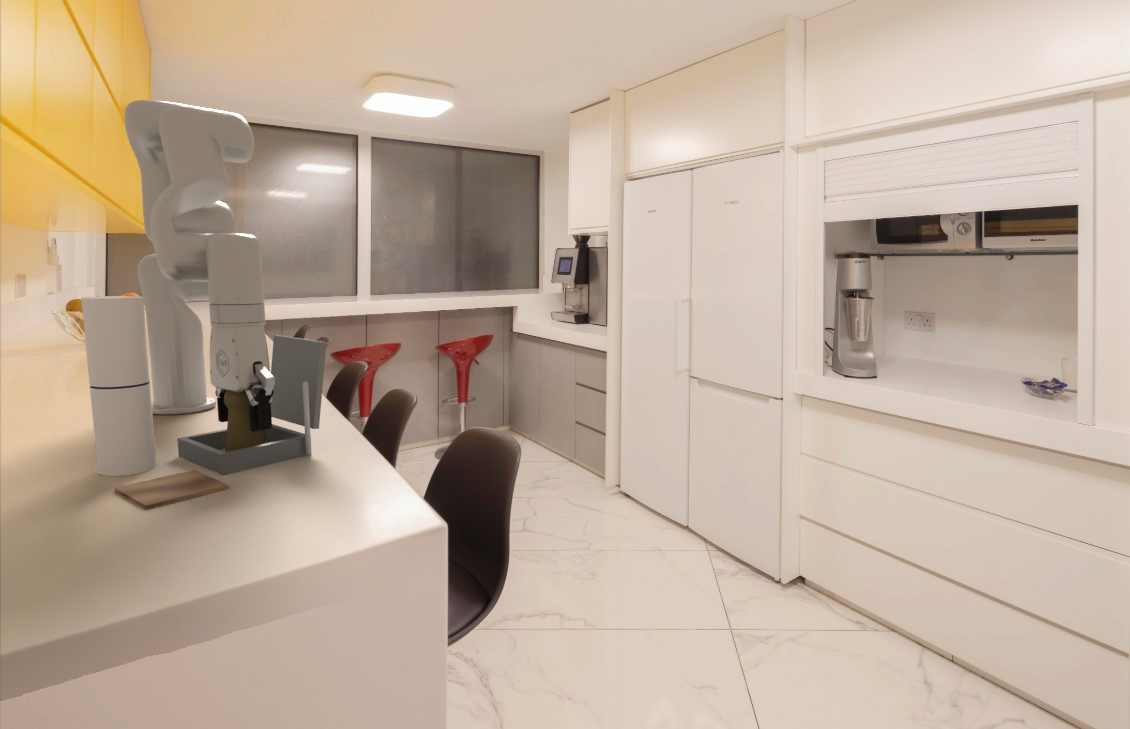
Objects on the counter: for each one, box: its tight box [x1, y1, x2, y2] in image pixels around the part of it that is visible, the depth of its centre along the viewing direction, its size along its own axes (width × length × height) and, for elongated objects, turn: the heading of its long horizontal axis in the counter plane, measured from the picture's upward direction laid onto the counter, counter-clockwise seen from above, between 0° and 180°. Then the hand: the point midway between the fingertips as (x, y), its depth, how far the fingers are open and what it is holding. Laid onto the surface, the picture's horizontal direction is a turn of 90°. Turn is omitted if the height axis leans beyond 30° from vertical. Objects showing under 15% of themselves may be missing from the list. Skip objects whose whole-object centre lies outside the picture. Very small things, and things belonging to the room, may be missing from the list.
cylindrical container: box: [81, 295, 158, 477], centre depth 93 cm, size 7×7×25 cm
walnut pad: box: [114, 469, 230, 510], centre depth 86 cm, size 10×10×1 cm
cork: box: [224, 389, 266, 452], centre depth 101 cm, size 6×6×11 cm
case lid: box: [270, 334, 327, 430], centre depth 107 cm, size 14×14×1 cm
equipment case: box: [177, 382, 312, 476], centre depth 101 cm, size 15×14×12 cm
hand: (244, 425), depth 101 cm, fingers open, 9 cm apart
